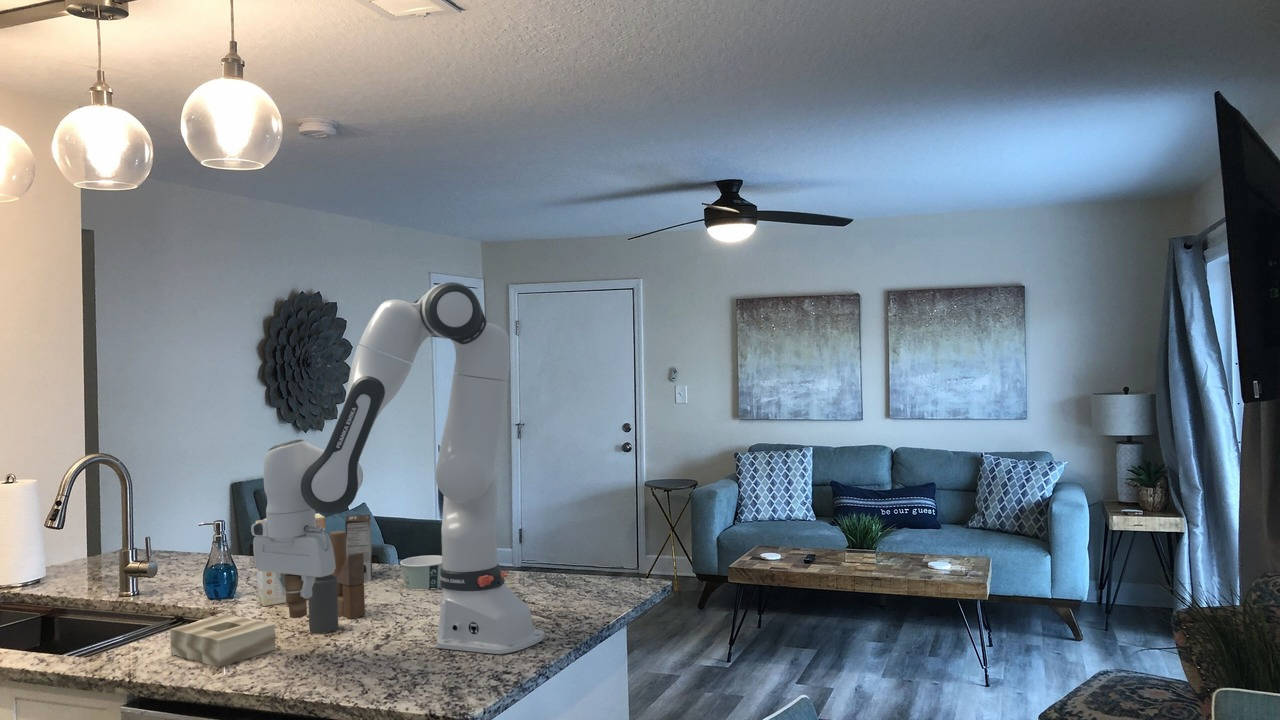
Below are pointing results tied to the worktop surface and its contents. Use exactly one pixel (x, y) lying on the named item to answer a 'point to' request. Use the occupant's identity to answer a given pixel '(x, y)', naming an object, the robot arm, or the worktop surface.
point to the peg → (295, 596)
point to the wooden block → (348, 578)
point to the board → (222, 640)
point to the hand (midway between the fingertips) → (297, 596)
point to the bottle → (323, 605)
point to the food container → (422, 571)
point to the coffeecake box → (268, 582)
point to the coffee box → (360, 540)
